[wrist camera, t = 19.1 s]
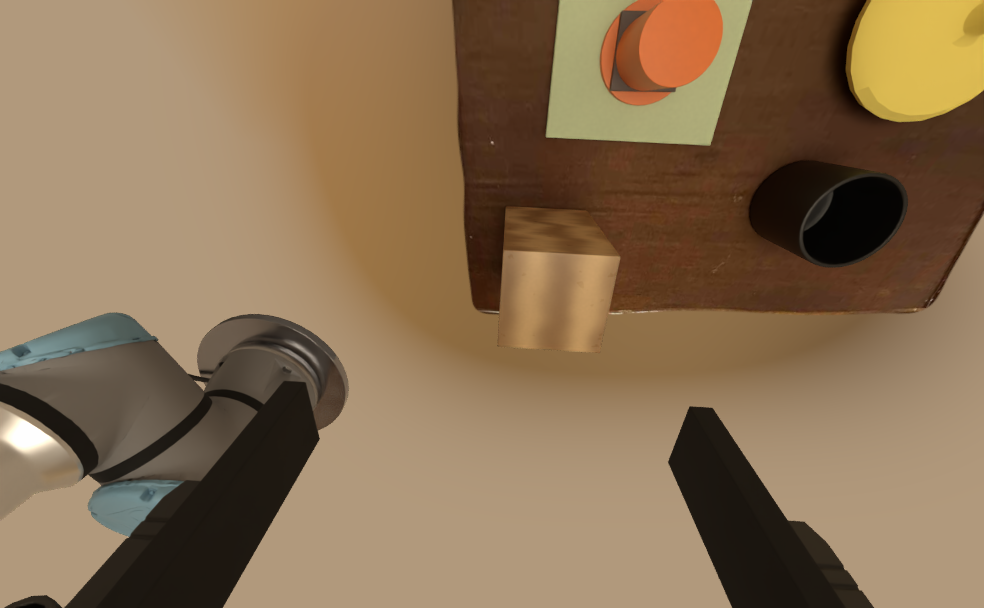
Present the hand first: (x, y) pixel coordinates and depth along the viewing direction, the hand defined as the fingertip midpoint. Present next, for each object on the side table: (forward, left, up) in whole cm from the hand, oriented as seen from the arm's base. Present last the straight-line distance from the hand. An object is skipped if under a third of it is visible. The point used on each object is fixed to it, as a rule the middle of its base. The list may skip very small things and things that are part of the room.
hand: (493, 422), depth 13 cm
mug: (+35, +1, -37) cm, 51 cm away
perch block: (+5, -6, -37) cm, 38 cm away
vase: (+39, +18, -37) cm, 57 cm away
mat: (+13, +15, -37) cm, 42 cm away
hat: (+13, +15, -36) cm, 41 cm away
